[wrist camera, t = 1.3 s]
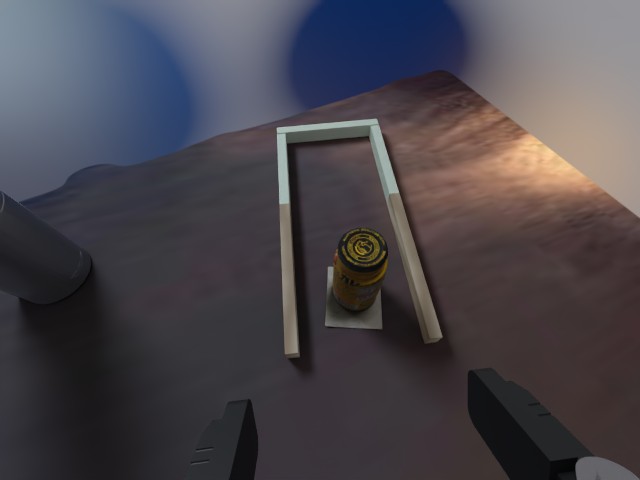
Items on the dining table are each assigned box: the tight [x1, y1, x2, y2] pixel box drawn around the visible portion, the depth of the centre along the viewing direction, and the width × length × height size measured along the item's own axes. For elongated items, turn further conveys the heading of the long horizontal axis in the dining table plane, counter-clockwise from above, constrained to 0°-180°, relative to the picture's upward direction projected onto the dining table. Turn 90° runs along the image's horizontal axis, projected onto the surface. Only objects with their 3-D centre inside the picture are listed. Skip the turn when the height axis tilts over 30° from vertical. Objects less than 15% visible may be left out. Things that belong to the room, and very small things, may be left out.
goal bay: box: [277, 119, 399, 209], centre depth 53 cm, size 18×18×2 cm
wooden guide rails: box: [280, 193, 442, 358], centre depth 42 cm, size 18×22×2 cm
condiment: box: [325, 228, 388, 329], centre depth 36 cm, size 7×8×12 cm
